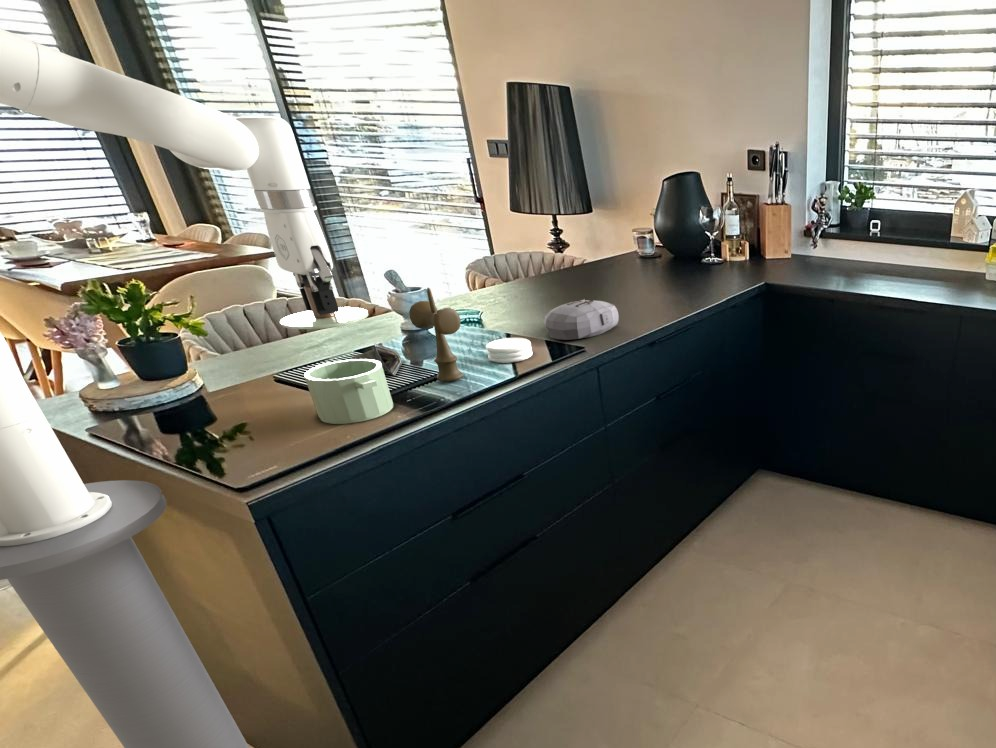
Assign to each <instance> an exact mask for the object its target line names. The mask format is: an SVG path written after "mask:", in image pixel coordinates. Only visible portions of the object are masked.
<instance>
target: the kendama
mask: <svg viewBox="0 0 996 748" xmlns="http://www.w3.org/2000/svg"><path fill="white" fill-rule="evenodd" d="M426 294H427V298H428V300H419V301H417V302H414V303H413V304H412V305H411V306H410V308H409V311H408V313H409V314H408V315H409V320H410V323H411V324H412V325H413V326H414V327H415V328H417V329H420V330H428V329H431V328H434V333H435V342H436V343H435V344H436V356H435V357H434V359H433V362H434V363H435V364H436V365H437V369H438V374H437V375H436V379H437V381H439V382H443V383H450V382H451V383H452V382H456V381H459V380H461V379H462V378H464V373H463V372H462V371H461V370H459V368H458V365H457V361H458V357H457V356H456V355H455V354H453V351H452V350H451V348H450V345H449V343H448V341H447V337H446V336H445V335H448V336H449V335H453V334H455V333H457V332H458V331H459V330H460V327H461V317H460V314H459V313H458V312H457V311H456V310H455V309H454V308H451V307H443V308H440V309H438V308H437V306H436V303H435V300H434V296H433V293H432V290H431V288H430V287H427V288H426Z"/></svg>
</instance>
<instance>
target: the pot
mask: <svg viewBox="0 0 996 748" xmlns="http://www.w3.org/2000/svg"><path fill="white" fill-rule="evenodd" d="M304 380H305V383H306V385H307V388H308V391H309V394H310V398H311V400H312V402H313V405H314V408H315V411H316V413H317V416H318V419H319V420H320V421H322V422H323V423H326V424H331V425H346V424H347V425H348V424H354V423H361V422H364V421H365V422H367V421H370V420H372V419H373V420H374V419H376V418H379V417H381V416H383V415H385V414H387V413H389V412H390V411H392V410H393V408H394V402H393V401H394V400H393V398H392V395H391V392H390V388H389V385H388V382H387V378H386V375H385V371H383V368H382V364H381V362H379V361H376V360H368V359H353V360H352V359H345V360H336V361H333V362H326V363H322V364H318V365H316V366H315V367H312V368H310V369H309V370H307V371H306V372H305V373H304Z"/></svg>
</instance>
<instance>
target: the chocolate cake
mask: <svg viewBox="0 0 996 748" xmlns="http://www.w3.org/2000/svg"><path fill="white" fill-rule="evenodd" d="M373 345H374V347H373V349H371V350H368V351H364V352H362V353H359V354H356V355H354V356H353V355H352V357H351V360H353V359H368V360H376V361H379V362H381V364H382V368H383V371H384V372H386V373H387V374H389V375H393V376H396V374H397V372H398V371H399V369H400V367H401V365H402V364H403V360H402V357H401V356H400V354H399V352H398V351H397V350H396V349H394V348H390V347H387V346H385V345H381V344H379V343H376V342H374V343H373Z"/></svg>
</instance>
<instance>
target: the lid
mask: <svg viewBox="0 0 996 748" xmlns="http://www.w3.org/2000/svg"><path fill="white" fill-rule="evenodd" d="M304 289H305V292H306V295H307V298H308V301H309V304H310V307H311V310H312V311H308V310H305V311H300V312H297V313H293V314H290V315H287V316H285V317H283V318H281V319H280V320H279V324H280V326H281V327H282V328H286V329H289V330H291V329H292V330H310V331H311V330H326V329H333V328H334V329H335V328H340V327H344V326H349V325H350V324H353V323H358V322H360V321H363V320H365V319H366V318H368V317H369V311H368V310H367V309H364V308H361V307H351V306H344V307H343V306H342V307H341V306H340V307H339V306H338V308H339V311H338V312H334V313H328V314H323V315H320V314H318V313H317V310H316V307H315V304H314V301H313V298H312V295H311V292H312V291H313V290H312V288H311V286H310V284H309V285H305V286H304Z"/></svg>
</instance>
